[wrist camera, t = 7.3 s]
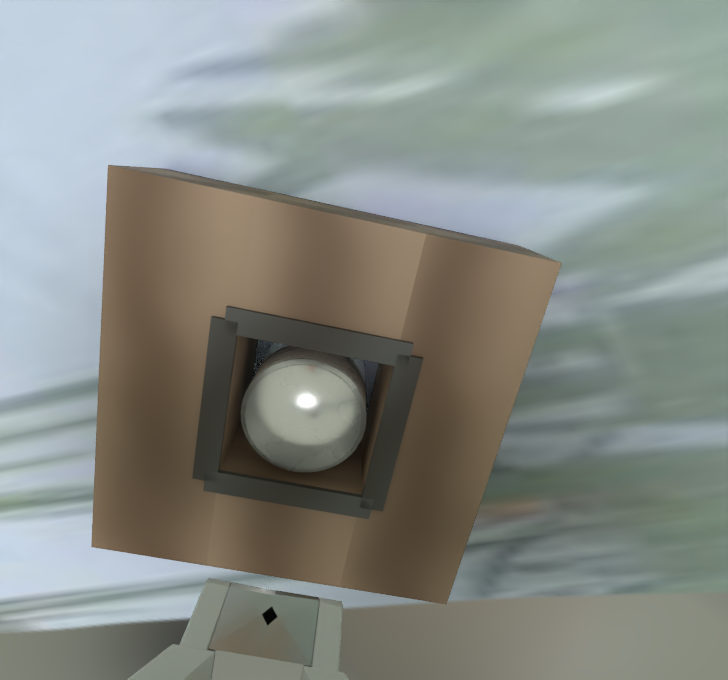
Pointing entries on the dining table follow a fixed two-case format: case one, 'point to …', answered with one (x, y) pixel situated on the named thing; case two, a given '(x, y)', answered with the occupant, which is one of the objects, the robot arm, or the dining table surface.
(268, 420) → the peg
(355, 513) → the socket block
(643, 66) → the dining table surface
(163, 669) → the robot arm
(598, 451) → the dining table surface
